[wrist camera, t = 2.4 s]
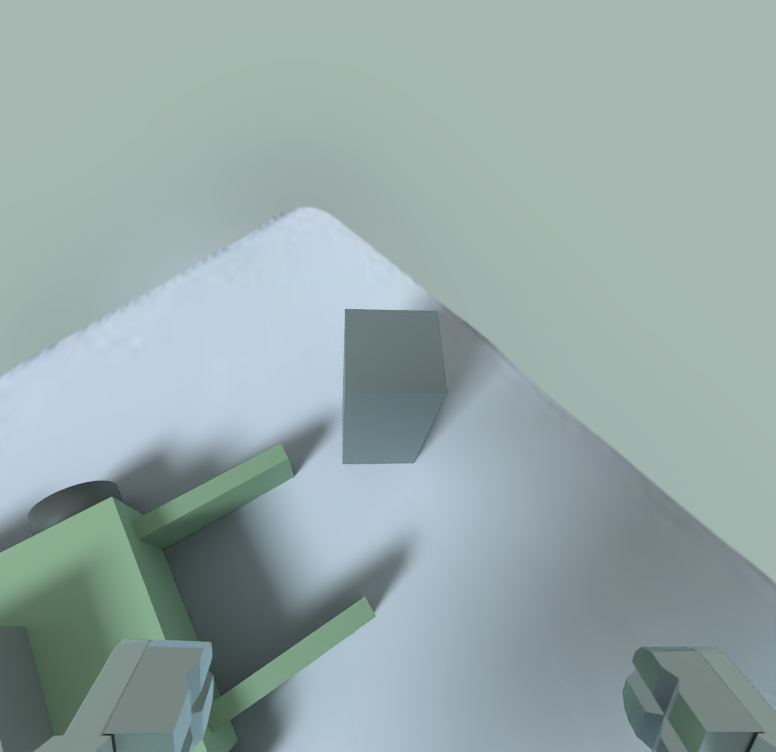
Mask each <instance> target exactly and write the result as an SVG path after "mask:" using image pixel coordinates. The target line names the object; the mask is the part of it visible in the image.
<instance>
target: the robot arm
mask: <svg viewBox="0 0 776 752" xmlns="http://www.w3.org/2000/svg"><path fill="white" fill-rule="evenodd" d="M212 657H213V655H212V643H211V642H201V641H178V640H154V639H153V640H145V639H123V640H122V641H121V642H120V643H119V644H118V645H117V646H116V647H115V648H114V650H113V651H112V653H111V655H110V657H109V658H108V660H107V662H106V663H105V665H104V667H103V669H102V670H101V672H100V674H99V676H98V677H97V679H96V681H95V682H94V684H93V686H92V688H91V689H90V691H89V693H88V694H87V696H86V698H85V700H84V701H83V703H82V705H81V706H80V708H79V710H78V712H77V713H76V715H75V717H74V718H73V720H72V722H71V724H70V725H69V727H68V729H67V730H66V732H65V734H64V735H59V736H53V737H51V738H50V739H49V740H48V741H46V742H45V743H44V744H43V745H41V746H40V747H39V748H38V749H36V750H35V751H34V752H194V747H195V746H196V745H197V744H198V743H199V742H200V741H201V740H202V739H203V737H204V734H205V730H206V727H207V723H208V720H209V715H210V710H211V705H212V700H213V688H214V679H213V675H212V673H211V672H210V671H209V670H208V669H209V666H210V663H211V660H212ZM632 662H633V664H634V666H635V668H636V671H635V672H634V673H633V674H631V675H630V676H629V677H628V678H627V679H626V682H625V686H624V689H623V699H624V708H625V711H626V714H627V717H628V720H629V722H630V724H631V726H632V728H633V730H634V732H635V734H636V736H637V737H638V738H639V739H640V740H642V741H643V742H644V743H645V744H646V745H647V746H649V747H650V748H651V749H652V752H776V712H775V711H774V710H773V709H772V708H771V706H770V705H769V704H768V703H767V702H766V701H765V699H764V698H763V697H762V696H761V695H760V694H759V692H758V691H757V690H756V689H755V688H754V687H753V686H752V684H751V683H750V682H749V681H748V680H747V679H746V677H745V676H744V675H743V674H742V673H741V672H740V670H739V669H738V668H737V667H736V666H735V665H734V664H733V662H732V661H731V660H730V659H729V658H728V657H727V655H726V654H724V653H723V652H722V651H720V650H719V649H717V648H695V647H691V648H688V647H641V648H640V649H638V650H637V651H636V652H635V655H634V657H633V660H632Z"/></svg>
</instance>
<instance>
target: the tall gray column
mask: <svg viewBox="0 0 776 752" xmlns="http://www.w3.org/2000/svg"><path fill="white" fill-rule="evenodd" d="M446 394H447V390H446V382H445V373H444V365H443V356H442V348H441V339H440V331H439V323H438V314H437V311H408V310H364V309H345V333H344V371H343V464H387V463H414V462H415V460H416V457H417V455H418V453H419V451H420V449H421V447H422V445H423V443H424V441H425V438H426V436H427V434H428V432H429V430H430V428H431V426H432V424H433V422H434V419H435V417H436V415H437V413H438V411H439V409H440V407H441V405H442V403H443V400H444V398H445V396H446Z"/></svg>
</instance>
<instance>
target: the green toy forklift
mask: <svg viewBox="0 0 776 752" xmlns="http://www.w3.org/2000/svg"><path fill="white" fill-rule="evenodd" d="M292 477H294V475H293V471H292V468H291V464H290V461H289V458H288V456H287V454H286V452H285V451H284V449H283V447H282V445H281V443H280V444H278V445H276V446H274V447H272V448H270V449H268V450H266V451H264V452H263V453H261V454H259V455H257V456H255V457H253V458H251V459H249V460H247V461H245V462H244V463H242V464H240V465H238V466H236V467H234V468H232V469H230V470H228V471H226V472H225V473H223V474H221V475H219V476H217V477H215V478H213V479H211V480H209V481H208V482H206V483H204V484H202V485H200V486H198V487H196V488H194V489H192V490H190V491H189V492H187V493H185V494H183V495H181V496H179V497H177V498H175V499H173V500H171V501H170V502H168V503H166V504H164V505H162V506H160V507H158V508H156V509H154V510H152V511H151V512H149V513H147V514H145V515H144V514H142V513H140V512H138V511H137V510H135V509H133V508H131V507H129V506H128V505H126V504H124V503H123V500H122V498H121V495H120V492H119V490H118V487H117V485H116V484H115V483H113V482H110V481H92V482H86V483H82V484H78V485H74V486H71V487H68V488H65V489H63V490H60V491H58V492H56V493H54V494H52V495H50V496H48V497H46V498H45V499H43V500H42V501H40V502H39V503H38V504H36V505H35V506H34V507H33V508H32V509H31V510H30V512H29V514H28V520H29V523H30V527H31V530H32V534H33V536H32V537H30V538H28V539H26V540H24V541H22V542H20V543H18V544H16V545H14V546H12V547H10V548H8V549H6V550H4V551H2V552H1V553H0V752H34V751H35V750H36V749H38V748H39V747H40V746H41V745H43V744H44V743H45V742H46V741H48V740H49V739H50V738H51V737H53V736H59V735H64V734H65V732H66V730H67V729H68V727H69V725H70V724H71V722H72V720H73V718H74V717H75V715H76V713H77V712H78V710H79V708H80V706H81V705H82V703H83V701H84V700H85V698H86V696H87V694H88V693H89V691H90V689H91V688H92V686H93V684H94V682H95V681H96V679H97V677H98V676H99V674H100V672H101V670H102V669H103V667H104V665H105V663H106V662H107V660H108V658H109V657H110V655H111V653H112V651H113V650H114V648H115V647H116V646H117V645H118V644H119V643H120V642H121V641H122V640H123V639H145V640H153V639H154V640H178V641H199V640H198V637H197V635H196V632H195V630H194V627H193V625H192V622H191V620H190V617H189V615H188V612H187V610H186V607H185V605H184V602H183V600H182V597H181V595H180V592H179V590H178V587H177V585H176V582H175V580H174V577H173V575H172V572H171V570H170V567H169V564H168V562H167V559H166V557H165V554H164V552H163V550H164V549H165V548H167V547H169V546H171V545H172V544H174V543H176V542H178V541H180V540H181V539H183V538H185V537H187V536H189V535H190V534H192V533H194V532H196V531H198V530H199V529H201V528H203V527H205V526H206V525H208V524H210V523H212V522H214V521H215V520H217V519H219V518H221V517H223V516H224V515H226V514H228V513H230V512H232V511H233V510H235V509H237V508H239V507H240V506H242V505H244V504H246V503H248V502H249V501H251V500H253V499H255V498H257V497H258V496H260V495H262V494H264V493H266V492H267V491H269V490H271V489H273V488H274V487H276V486H278V485H280V484H282V483H283V482H285V481H287V480H289V479H291V478H292ZM374 617H376V615H375V613H374V612H373V610H372V608H371V606H370V604H369V603H368V601H367V599H366V597H363V598H362V599H361V600H359V601H358V602H356V603H355V604H353V605H352V606H350V607H349V608H348V609H346V610H345V611H343V612H342V613H340V614H339V615H337V616H336V617H335V618H333V619H332V620H330V621H329V622H327V623H326V624H324V625H323V626H322V627H320V628H319V629H317V630H316V631H314V632H313V633H311V634H310V635H309V636H307V637H306V638H304V639H303V640H301V641H300V642H298V643H297V644H296V645H294V646H293V647H291V648H290V649H288V650H287V651H286V652H284V653H283V654H281V655H280V656H278V657H277V658H275V659H274V660H273V661H271V662H270V663H268V664H267V665H265V666H264V667H262V668H261V669H260V670H258V671H257V672H255V673H254V674H252V675H251V676H249V677H248V678H247V679H245V680H244V681H242V682H241V683H239V684H238V685H236V686H235V687H234V688H232V689H231V690H229V691H228V692H226V693H225V694H223V695H222V696H221V695H220V692H219V690H218V687H217V685H216V682H215V680H214V688H213V700H212V705H211V710H210V715H209V720H208V723H207V727H206V730H205V734H204V737H203V739H202V740H201V741H200V742H199V743H198V744H197V745H196V746H195V747H194V752H229V751H230V750H231V748H232V747H233V746H234V745H235V744H236V743H237V741H238V737H237V735H236V732H235V730H234V727H233V725H232V722H231V720H232V719H233V718H235V717H236V716H237V715H239V714H240V713H242V712H243V711H244V710H246V709H247V708H249V707H250V706H251V705H253V704H254V703H256V702H257V701H258V700H260V699H261V698H263V697H264V696H265V695H267V694H268V693H270V692H271V691H272V690H274V689H275V688H277V687H278V686H279V685H281V684H282V683H284V682H285V681H286V680H288V679H289V678H290V677H292V676H293V675H295V674H296V673H297V672H299V671H300V670H302V669H303V668H304V667H306V666H307V665H309V664H310V663H311V662H313V661H314V660H316V659H317V658H318V657H320V656H321V655H323V654H324V653H325V652H327V651H328V650H330V649H331V648H332V647H334V646H335V645H337V644H338V643H339V642H341V641H342V640H344V639H345V638H346V637H348V636H349V635H350V634H352V633H353V632H355V631H356V630H357V629H359V628H360V627H362V626H363V625H364V624H366V623H367V622H369V621H370V620H371V619H373V618H374ZM208 670H209V671H210V672H211V670H210V667H209V669H208ZM211 673H212V672H211ZM213 679H214V677H213Z"/></svg>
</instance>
